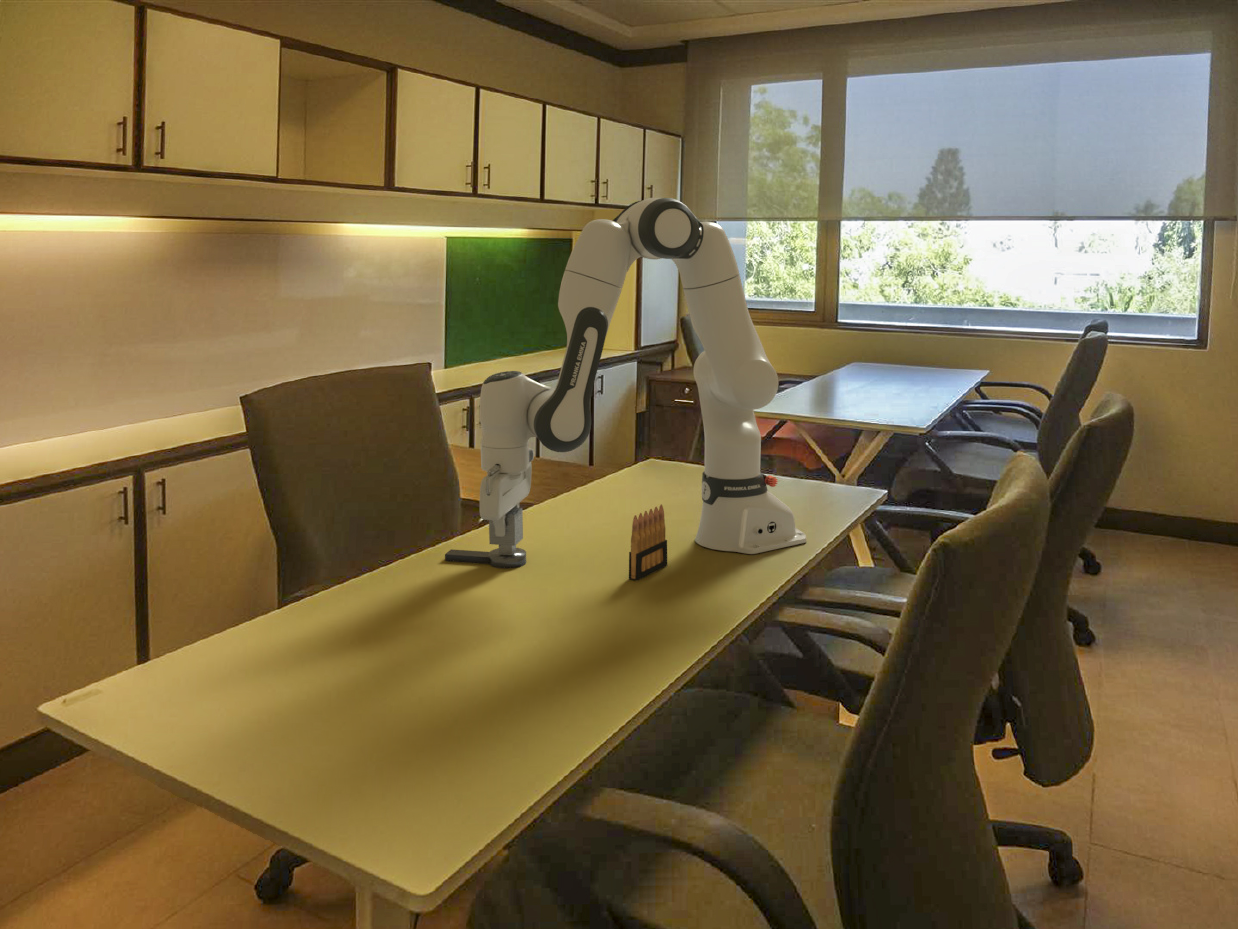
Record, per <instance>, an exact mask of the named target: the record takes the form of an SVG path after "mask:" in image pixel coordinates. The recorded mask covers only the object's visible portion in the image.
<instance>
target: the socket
mask: <svg viewBox="0 0 1238 929" xmlns="http://www.w3.org/2000/svg"><path fill="white" fill-rule="evenodd" d="M523 514H524V513H523V507H519V508H515V507H513V508H512V509H511V510H510V511H509V512H507V513H506V514H505V519H504V520H505V525H506V526H507V533H506V534H505V535H504V536H503V537H500V536H496V535H495V526H494V523H493V520H488V530H489V531H488V534H489V536H488V538H489V545H498V546H499V545H509V546H515V545H516V546H517V545H518V544H519V543H520V542H521V541H522V540H523V539H524V527H523V526H524V522H523V519H524V518H523Z"/></svg>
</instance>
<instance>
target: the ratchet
mask: <svg viewBox="0 0 1238 929" xmlns="http://www.w3.org/2000/svg"><path fill="white" fill-rule="evenodd" d="M444 561H445V562H450V563H465V564H479V565H489V566H491V567H492V568H496V569H503V570H505V569H509V570H510V569H516V568H520V567H523V566H525V565H526V564H527V551H526V550H525V549H523V548H521V547H520V548H519V547H517V545H515V546H509V545H498V548H495V549H492V550H490V551H483V550H482V551H480V550H479V551H478V550H467V549H466V550H465V549H449V550H448V551H447V552H446V553H444Z"/></svg>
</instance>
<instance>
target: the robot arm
mask: <svg viewBox="0 0 1238 929" xmlns="http://www.w3.org/2000/svg"><path fill="white" fill-rule="evenodd" d="M640 258H642V259H643V258H644V259H648V260H661V259H664V260H665V259H666V260H672V261H673V262H674V264H675V266H676V268H677V271H678V272H679V276H680V281H681V285H682V290H683V293H684V295H683V296H684V298H685V299H684V300H685V302H686V306H687V310H688V314H689V318H690V322H691V325H692V329H693V330H694V332H695V334H696V335H697V337H698V339H699V341H700V343H701V346H702V347H703V351H702V352H701V353H699V355H698V357H697V358H696V359H695V362H694V364H693V377H694V380H695V382H696V386H697V389H698V390H697V392H698V397H699V398H698V399H699V403H700V412H701V417H702V418H701V419H702V424H703V432H704V433H703V434H704V471H703V472H702V473H701V474H702V477H701V501H702V506H701V515H700V520H699V523H698V525H699V526H698V529H697V532H696V535H695V539H694V540H695V543H696V544H698V545H700V546H702V547H705V548H707V549H710V550H716V551H722V552H723V551H724V552H734V553H736V552H737V553H742V554H747V555H756V554H759V553H760V554H761V553H765V552H768V551H774V550H777V549H782V548H786V547H787V548H788V547H791V546H797V545H800V544H804V543H806V542H807V535H806V534H805V533H804V532H803V531H801V530H800V529H798V528H797V527H796V522H795V516H794V513H793V511H792V508H790V507H789V506H788V505H787V504H785V502H783V501H782V500H780V499H779V498H778V497H776V496H775V495H774V494H773V493H771V492H770V491H768V487H767V486H769V487H771V488H774V487H776V486H777V485H778V482H779V481H778V479H777V477H776V476H772V475H766V474H764V473H762V472H761V448H762V446H761V445H762V443H761V442H762V437H761V436H762V435H761V431H760V429H759V427H758V424H757V420H756V415H755V410H758V409H762V408H764V407H766V406H768V405H769V404H770V403H771V402H772V401H773V400H774V398H775V397H776V395H777V393H778V389H779V376H778V373H777V371H776V369H775V368H774V366H773V365H772V363H771V362H770V360H769V358H768V356H767V354H766V351H765V348H764V345H763V344H762V341H761V339H760V335H759V334H758V332H757V330H756V327H755V325H754V323H753V320H752V317H751V315H750V312H749V311H750V310H749V308H748V304H747V300H746V297H745V296H746V295H745V292H744V288H743V284H742V278H741V275H740V270H739V267H738V262H737V259H736V256H735V254H734V251H733V248H732V245H731V243H730V240H729V238H728V236H727V234H726V232H725V230H724V228H723V227H722V226H721V225H719V223H716V222H713V221H707V220H705V221H700V220H699V219H698V218H697V217H696V215H695V214H694V213H693V212H692V211H691V209H690V208H689V207H688V206H687V205H686V204H684V203H683V202H681V201H680V200H678V199H676V198H671V197H648V198H645V199H643V200H638V201H634V202H633V203H631V204H629V205H628V206H627V207H625V208H624V209H623V210H622V211H621V212H620V213H619V214H618V215H617V216H616V217H615V218H613V219H605V218H598V219H594V220H591V221H589V222H587V223H586V224H585V226H584V227H583V228H582V230H581V232H580V234H579V236H578V237H577V240H576V241H575V243H574V246H573V248H572V251H571V253H570V255H569V257H568V260H567V263H566V266H565V269H564V272H563V276H562V279H561V284H560V286H559V287H560V288H559V291H558V302H557V307H558V311H559V313H560V316H561V317H562V320H563V323H564V326H565V330H566V338H567V340H566V348H565V352H564V356H563V360H562V364H561V367H560V371H559V375H558V378H557V382H556V386H555V387H553V386H549V385H545V384H543V383H541V382H537V381H536V380H534V379H532V378H530V377H528V376H526V374H524V373H522V372H521V371H518V370H510V371H508V370H507V371H502V372H498V373H497V372H496V373H494V374H491V375H489V376H487V378H485V379H484V380H483V382H482V385H481V389H480V399H479V423H480V426H481V429H482V430H481V431H482V434H481V439H480V468H481V470H482V471H485V472H486V476H484V477H483V478H482V480H481V481H480V488H479V515H480V518H481V519H482V520H484V521H485V520H486V521H489V520H493V523H494V526H495V535H496V536H500V537H503V536H504V535H505V534H506V533H507V526H506V525H505V520H504V519H505V514H506V513H507V512H509V511H510V510H511V509H512V508H513V507H515V508H520V503H521V502H522V501H523V500H524V499H525V498H527V497H528V496H529V494H530V491H531V486H532V461H534V459H535V458H534V456H535V455H534V454H535V453H534V449H533V448H530V447H529V440H530V439H531V438H537V439H538V440H539V442H540V443H541V444H542V445H543V446H544V447H545V448H546V449H548V450H550V451H552V452H556V453H567V452H572V451H573V450H576V449H578V448H579V447H580V446H582V445H583V444H584V443H585V442H586V440H587V439H588V438H589V435H590V433H591V429H592V412H591V397H592V392H593V388H594V385H595V380H596V376H597V374H598V370H599V365H600V361H601V357H602V355H603V354H602V353H603V350H604V345H605V342H606V337H607V334H608V332H609V329H610V324H611V322H612V319H613V317H614V314H615V310H616V307H617V304H618V303H619V300H620V296H621V293H622V291H623V287H624V284H625V281H626V278H627V273H628V272H629V271H630V268H631V266H632V265H633V263H634V262H636V261H637V259H640Z"/></svg>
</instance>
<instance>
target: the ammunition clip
mask: <svg viewBox="0 0 1238 929" xmlns="http://www.w3.org/2000/svg"><path fill="white" fill-rule="evenodd" d="M632 519H633V520H632V524H631V525H632V526H631V527H632V528H631V537H630V551H629V552H628V555H629V556H628V557H629V558H628V579H629V580H632V581H637V582H638V581H640V580H642V579H644V578H646V577H648V576H650V575H651V574H654V573H656V572H658V571H659V570H660V571H661V570H662V569H664V568H666V567H668V540H667V539H666V523H665V522H666V521H665V511H664V506H663V504H660V505H659V507H658V506H655V507H654V508H653V509H652V508H650V509H649V510H648V511H647V510H645V511H644V514H642V512H640V513H639V515H638V516H637V515H634V516H633V518H632Z"/></svg>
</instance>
